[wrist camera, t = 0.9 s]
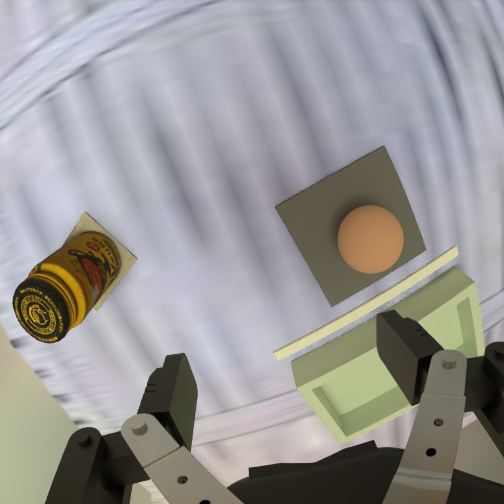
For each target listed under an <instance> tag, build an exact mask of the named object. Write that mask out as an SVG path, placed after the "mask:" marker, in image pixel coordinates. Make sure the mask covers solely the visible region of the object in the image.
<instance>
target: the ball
mask: <svg viewBox="0 0 504 504" xmlns="http://www.w3.org/2000/svg"><path fill="white" fill-rule="evenodd" d="M337 241H338V247H339V251H340V253H341V255H342V257H343V259H344V260H345V262H346V263H347V264H348V265H349V266H351V267H352V268H353V269H355V270H357V271H359V272H362V273H368V274H373V273H379V272H382V271H385V270H387V269H388V268H390V267H391V266H392V265H393V264H394V263H395V262H396V261H397V259H398V258H399V256H400V254H401V252H402V249H403V244H404V236H403V230H402V227H401V225H400V223H399V221H398V220H397V218H396V217H395V216H394V215H393V214H392V213H391V212H390V211H388V210H386V209H385V208H382V207H380V206H375V205H366V206H361V207H358V208H356V209H354V210H353V211H351V212H350V213H349V214H348V215H347V216H346V217H345V218H344V220H343V221H342V223H341V225H340V227H339V231H338V240H337Z"/></svg>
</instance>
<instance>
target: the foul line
mask: <svg viewBox="0 0 504 504" xmlns="http://www.w3.org/2000/svg"><path fill="white" fill-rule="evenodd" d="M457 255H459V253H458V249H457V246H456V245H455V246H453V247H452V248H450V249H449V250H447V251H446V252H444V253H443V254H442V255H440V256H439V257H437V258H436V259H434V260H433V261H431V262H430V263H428V264H427V265H425V266H424V267H422V268H420V269H419V270H417V271H416V272H414V273H413V274H411V275H410V276H408V277H406V278H405V279H403V280H402V281H400V282H398V283H397V284H395V285H394V286H392V287H390V288H389V289H387V290H385V291H384V292H382V293H380V294H379V295H377V296H375V297H374V298H372V299H370V300H369V301H367V302H365V303H364V304H362V305H360V306H358V307H357V308H355V309H353V310H351V311H350V312H348V313H346V314H344V315H343V316H341V317H339V318H337V319H335V320H334V321H332V322H330V323H328V324H326V325H324V326H323V327H321V328H319V329H317V330H315V331H313V332H311V333H309V334H307V335H306V336H304V337H302V338H300V339H298V340H296V341H294V342H292V343H290V344H288V345H286V346H284V347H282V348H280V349H278V350H276V351H274V352H273V354H274V355H275V357H276V358H277V359H278V361H279V360H281V359H283V358H285V357H287V356H289V355H291V354H293V353H295V352H297V351H299V350H301V349H303V348H305V347H307V346H309V345H311V344H312V343H314V342H316V341H318V340H320V339H322V338H324V337H326V336H328V335H329V334H331V333H333V332H335V331H337V330H339V329H340V328H342V327H344V326H346V325H348V324H349V323H351V322H353V321H355V320H357V319H358V318H360V317H362V316H364V315H365V314H367V313H369V312H370V311H372V310H374V309H376V308H377V307H379V306H381V305H382V304H384V303H386V302H387V301H389V300H390V299H392V298H394V297H395V296H397V295H399V294H400V293H402V292H403V291H405V290H407V289H408V288H410V287H411V286H413V285H414V284H416V283H418V282H419V281H421V280H422V279H424V278H425V277H427V276H428V275H430V274H431V273H433V272H434V271H436V270H437V269H439V268H440V267H442V266H443V265H445V264H446V263H447V262H449V261H450V260H452V259H453V258H455V257H456V256H457Z"/></svg>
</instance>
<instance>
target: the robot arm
mask: <svg viewBox="0 0 504 504" xmlns="http://www.w3.org/2000/svg"><path fill="white" fill-rule="evenodd" d="M376 346H377V352H378V355H379V357H380V359H381V360H382V362H383V363H384V365H385V366H386V368H387V369H388V371H389V372H390V374H391V375H392V377H393V378H394V380H395V382H396V383H397V385H398V386H399V388H400V389H401V391H402V392H403V394H404V395H405V397H406V398H407V400H408V402H409V403H410V405H411V406H415V405H417V404H419V407H418V410H417V414H416V417H415V420H414V424H413V427H412V430H411V433H410V436H409V439H408V442H407V445H406V448H405V449H400V448H393V447H380V448H377V446H376V444H375V441H374V440H372V441H369V442H366V443H362V444H359V445H356V446H352V447H348V448H345V449H343V450H341V451H339V452H336V453H334V454H332V455H330V456H328V457H326V458H324V459H322V460H319V461H317V462H314V463H277V464H271V465H265V466H258V467H251V468H249V477H246V478H243V479H241V480H239V481H237V482H235V483H233V484H231V485H230V486H228V487H227V488H226V487H225V486H224V485H222V484H221V483H220V482H219V481H218V480H217V479H216V478H215V477H214V476H213V475H212V474H211V473H210V472H209V471H208V470H207V469H206V468H205V467H204V466H203V465H202V464H201V463H200V462H199V461H198V460H197V459H196V458H195V457H194V456H193V455H192V454H191V445H192V437H193V429H194V420H195V412H196V405H197V397H198V390H197V384H196V381H195V378H194V376H193V373H192V370H191V367H190V365H189V362H188V359H187V356H186V355H185V353H180V354H173V355H167V356H166V358H165V361H164V364H163V368H157V369H156V370H155V371H154V372H153V373H152V374H151V375H150V377H149V380H148V383H147V386H146V388H145V393H144V394H143V397H142V400H141V403H140V406H139V409H138V412H137V415H134V416H132V417H130V418H129V419H127V420H126V421H125V422H124V423H123V425H122V427H121V431H119V432H115V433H111V434H107V435H103V436H102V435H101V433H100V432H99V431H98V430H97V429H96V428H92V427H86V428H82V429H79V430H77V431H76V432H75V433H73V434H72V436H71V437H70V439H69V441H68V443H67V446H66V448H65V451H64V453H63V456H62V458H61V461H60V464H59V466H58V469H57V472H56V474H55V477H54V479H53V482H52V485H51V488H50V490H49V494H48V496H47V499H46V502H45V504H129V503H130V497H131V491H132V485H133V484H134V483H138V482H142V481H146V480H150V479H151V480H152V481H153V483H154V484H155V485H156V487H157V488H158V490H159V491H160V492H161V493H162V495H163V496H164V497H165V499H166V500H167V501H168V503H169V504H504V485H502V484H499V483H496V482H493V481H490V480H486V479H483V478H480V477H477V476H474V475H471V474H468V473H465V472H463V471H459V470H457V469H454V464H455V460H456V455H457V450H458V445H459V440H460V434H461V429H462V422H463V415H464V412H470V411H473V412H474V414H475V415H476V417H477V418H478V420H479V421H480V422H481V424H482V425H483V427H484V428H485V430H486V431H487V432H488V434H489V436H490V437H491V439H492V440H493V442H494V443H495V445H496V447H497V448H498V450H499V451H500V453H501V454H502V456H503V457H504V342H493V343H491V344H489V345H488V346H487V347H486V348H485V352H484V356H478V357H472V358H466V357H465V355H464V354H463V353H461V352H459V351H457V350H452V349H446V350H445V349H444V348H443V347H442V346H441V345H440V344H439V343H438V342H437V341H436V340H435V339H434V338H433V337H432V336H431V335H430V334H428V332H427V331H426V330H425V329H423V327H422V326H421V325H420V324H419V323H418V322H417V321H415V320H413V319H411V318H408V317H406V318H403V317H402V316H401V315H400V314H399V313H398V312H397V311H396V310H394V309H393V310H389V311H385V312H382V313H378V314H377V316H376Z"/></svg>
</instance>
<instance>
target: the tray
mask: <svg viewBox="0 0 504 504" xmlns="http://www.w3.org/2000/svg"><path fill="white" fill-rule="evenodd" d="M393 309H394V310H396V311H397V312H398V313H399V314H400V315H401V316H402V317H403V318H406V317H408V318H411V319H413V320H415V321H417V322H418V323H419V324H420V325H421V326H422V327H423V329H425V330H426V331H427V332H428V334H430V335H431V336H432V337H433V338H434V339H435V340H436V341H437V342H438V343H439V344H440V345H441V346H442V347H443V348H444V349H445V350H446V349H452V350H457V351H459V352H461V353H463V354H464V355H465V357H466V358H472V357H478V356H484V352H485V348H484V338H483V329H482V321H481V314H480V307H479V301H478V295H477V289H476V284H475V281H473V280H472V279H471V278H469V277H468V276H466V275H465V274H464V273H462V272H461V271H460V270H458V269H457V268H455V267H454V266H453V267H452V268H450V269H449V270H447V271H446V272H444V273H443V274H442V275H440V276H439V277H437V278H436V279H434V280H433V281H431V282H430V283H428V284H427V285H425V286H424V287H422V288H421V289H419V290H417V291H416V292H414V293H413V294H411V295H410V296H408V297H407V298H405V299H403V300H402V301H400V302H399V303H397V304H395V305H394V306H392V307H390V308H389V309H387V310H385V311H389V310H393ZM385 311H384V312H385ZM291 365H292V370H293V374H294V379H295V384H296V388H297V390H298V391H299V392H300V393H301V395H302V396H303V397H304V399H305V400H306V401H307V403H308V404H309V405H310V406H311V408H312V409H313V410H314V412H315V413H316V414H317V415H318V417H319V418H320V419H321V420H322V422H323V423H324V424H325V426H326V427H327V428H328V429H329V431H330V432H331V433H332V434H333V436H334V437H335V438H336V439H337V441H338V442H339V443H340V444H343V443H346V442H348V441H350V440H352V439H354V438H357V437H359V436H361V435H363V434H365V433H367V432H369V431H371V430H373V429H375V428H377V427H379V426H381V425H383V424H385V423H387V422H389V421H390V420H392V419H394V418H396V417H398V416H400V415H401V414H403V413H405V412H407V411H408V410H410V409H412V408H414V407H415V406H417V405H419V404H417V405H415V406H411V405H410V403H409V402H408V400H407V398H406V397H405V395H404V394H403V392H402V391H401V389H400V388H399V386H398V385H397V383H396V382H395V380H394V378H393V377H392V375H391V374H390V372H389V371H388V369H387V368H386V366H385V365H384V363H383V362H382V360H381V359H380V357H379V355H378V352H377V346H376V316H375V317H374V318H372V319H370V320H368V321H367V322H365V323H363V324H362V325H360V326H358V327H356V328H354V329H353V330H351V331H349V332H347V333H346V334H344V335H342V336H340V337H338V338H336V339H334V340H333V341H331V342H329V343H327V344H325V345H323V346H321V347H319V348H317V349H316V350H314V351H312V352H310V353H308V354H306V355H304V356H302V357H300V358H298V359H296V360H294V361H292V362H291Z"/></svg>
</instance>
